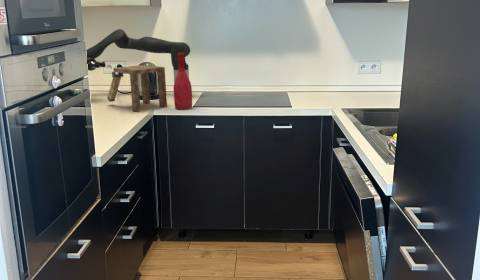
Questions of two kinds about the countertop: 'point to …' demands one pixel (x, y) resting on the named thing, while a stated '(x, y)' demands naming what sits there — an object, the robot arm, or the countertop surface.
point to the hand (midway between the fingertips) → (101, 65)
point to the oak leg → (114, 88)
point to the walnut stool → (144, 83)
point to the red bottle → (182, 87)
